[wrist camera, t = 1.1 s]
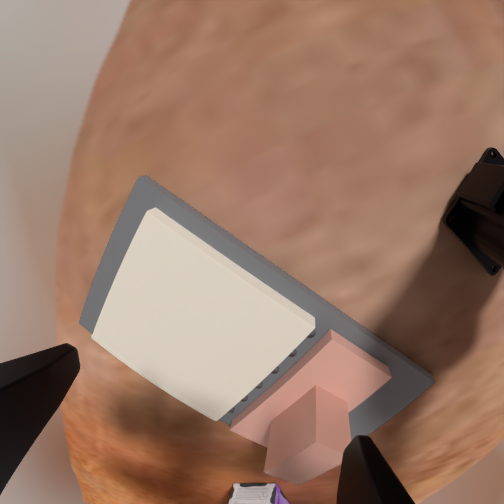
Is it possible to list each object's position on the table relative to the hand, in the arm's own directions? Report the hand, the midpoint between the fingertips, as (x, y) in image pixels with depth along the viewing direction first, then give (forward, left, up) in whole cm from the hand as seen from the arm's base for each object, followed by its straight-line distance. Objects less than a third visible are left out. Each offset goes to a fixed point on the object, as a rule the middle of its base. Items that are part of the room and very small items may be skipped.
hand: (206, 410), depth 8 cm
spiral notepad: (+1, +6, -11) cm, 13 cm away
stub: (-9, +6, -11) cm, 15 cm away
